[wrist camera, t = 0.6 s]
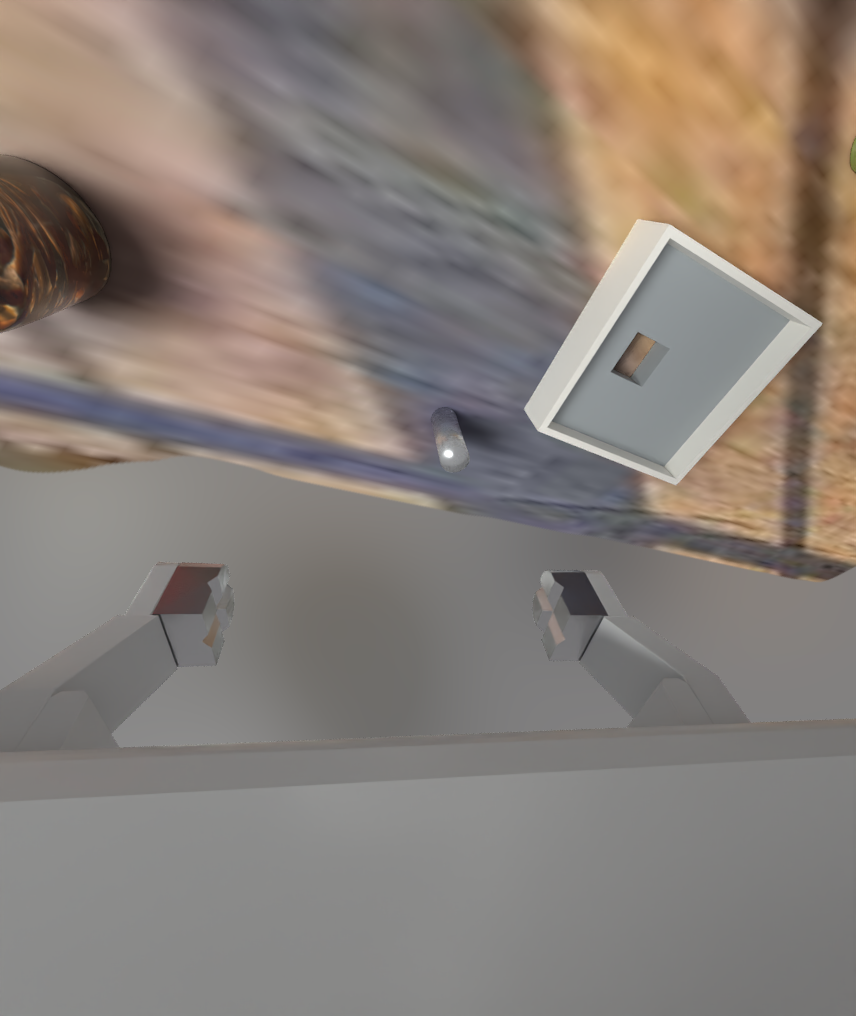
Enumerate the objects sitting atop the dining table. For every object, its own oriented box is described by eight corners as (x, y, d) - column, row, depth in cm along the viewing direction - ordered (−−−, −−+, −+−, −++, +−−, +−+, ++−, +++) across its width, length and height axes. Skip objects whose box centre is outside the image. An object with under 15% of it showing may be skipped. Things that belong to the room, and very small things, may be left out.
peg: (437, 403, 54) (448, 442, 46) (460, 412, 55) (474, 452, 47) (427, 425, 55) (435, 467, 47) (449, 433, 56) (461, 475, 48)
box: (637, 219, 44) (669, 224, 39) (781, 309, 50) (822, 323, 46) (523, 409, 55) (537, 431, 50) (653, 461, 62) (676, 485, 57)
